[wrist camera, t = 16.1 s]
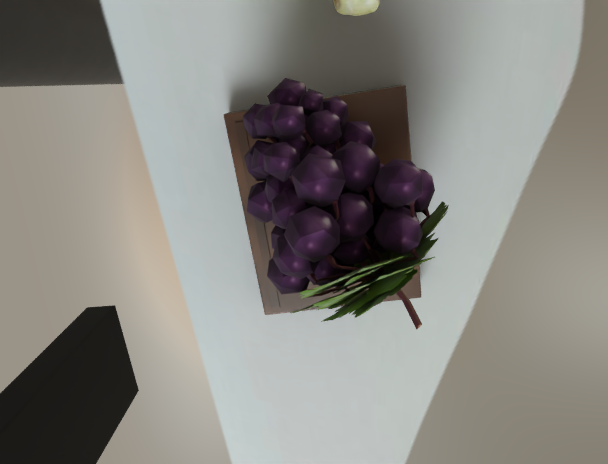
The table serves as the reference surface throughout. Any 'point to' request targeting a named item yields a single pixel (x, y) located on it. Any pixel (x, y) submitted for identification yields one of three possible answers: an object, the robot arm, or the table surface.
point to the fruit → (335, 203)
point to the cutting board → (361, 107)
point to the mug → (356, 6)
